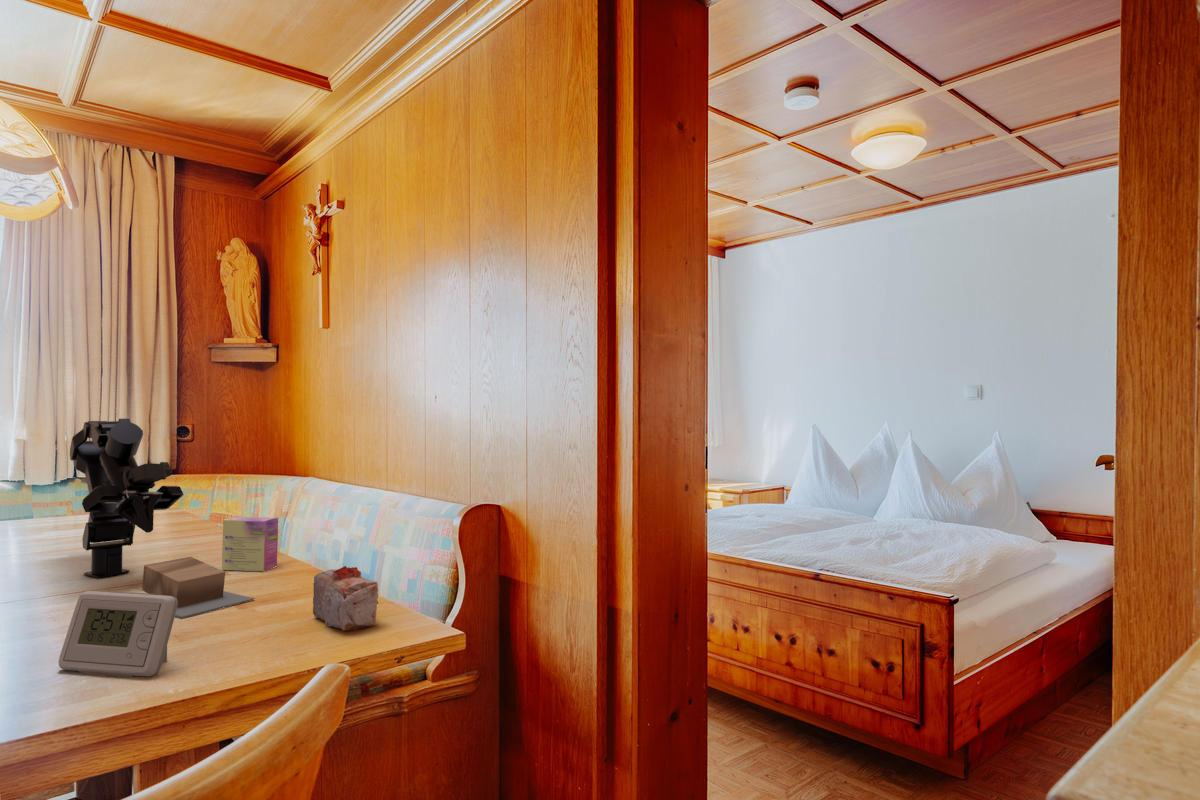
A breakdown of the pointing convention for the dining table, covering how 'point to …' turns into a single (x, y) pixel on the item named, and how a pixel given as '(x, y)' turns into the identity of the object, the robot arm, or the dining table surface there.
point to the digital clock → (119, 633)
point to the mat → (211, 605)
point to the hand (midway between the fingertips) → (150, 531)
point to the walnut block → (184, 580)
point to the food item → (345, 599)
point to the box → (249, 543)
